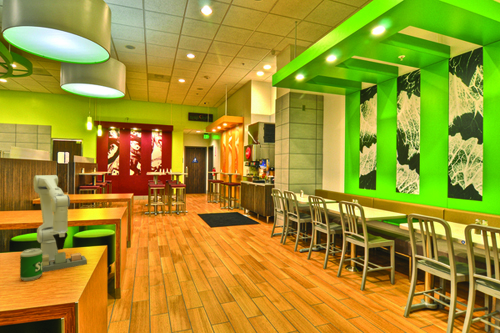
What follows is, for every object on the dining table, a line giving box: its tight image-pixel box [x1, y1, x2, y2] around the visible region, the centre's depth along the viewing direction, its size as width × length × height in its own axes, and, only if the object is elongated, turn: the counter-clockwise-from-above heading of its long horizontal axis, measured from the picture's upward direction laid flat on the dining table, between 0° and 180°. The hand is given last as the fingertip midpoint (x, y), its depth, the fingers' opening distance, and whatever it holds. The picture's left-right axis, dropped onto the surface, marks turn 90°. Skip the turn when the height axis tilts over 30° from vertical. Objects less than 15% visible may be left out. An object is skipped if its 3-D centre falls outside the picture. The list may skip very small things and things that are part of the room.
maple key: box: [43, 255, 49, 266], centre depth 129 cm, size 4×4×4 cm
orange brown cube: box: [70, 252, 82, 262], centre depth 137 cm, size 4×4×4 cm
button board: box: [42, 255, 88, 273], centre depth 133 cm, size 8×21×2 cm, turn 130°
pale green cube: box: [54, 251, 67, 264], centre depth 133 cm, size 4×4×4 cm
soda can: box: [19, 247, 43, 282], centre depth 119 cm, size 8×8×12 cm
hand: (60, 249), depth 133 cm, fingers closed
